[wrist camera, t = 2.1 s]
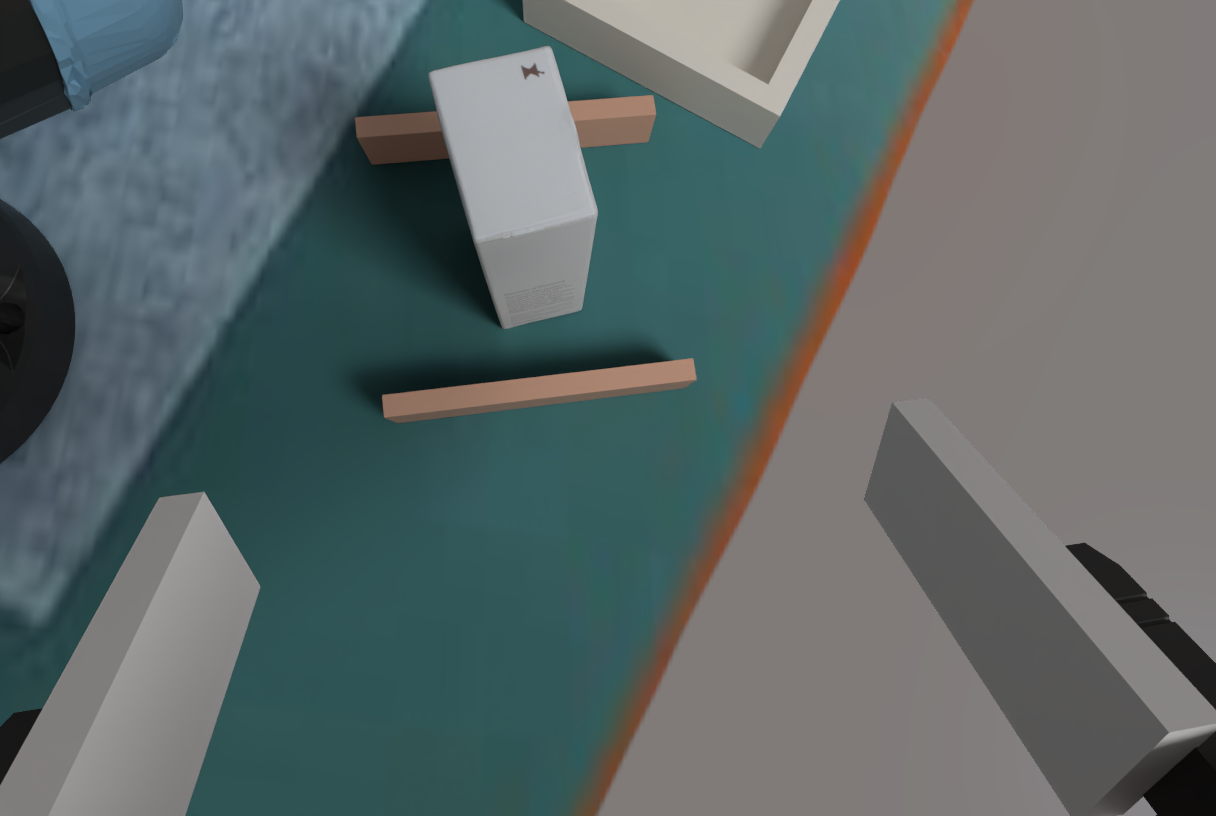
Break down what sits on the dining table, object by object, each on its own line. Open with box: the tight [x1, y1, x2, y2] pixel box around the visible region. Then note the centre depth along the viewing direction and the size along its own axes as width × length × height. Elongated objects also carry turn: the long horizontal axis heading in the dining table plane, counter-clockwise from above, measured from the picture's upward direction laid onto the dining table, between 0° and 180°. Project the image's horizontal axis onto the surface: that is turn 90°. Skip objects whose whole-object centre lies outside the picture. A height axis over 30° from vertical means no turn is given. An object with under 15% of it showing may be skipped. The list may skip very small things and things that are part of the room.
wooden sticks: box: [355, 95, 696, 423], centre depth 31 cm, size 14×14×2 cm
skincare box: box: [428, 46, 598, 329], centre depth 26 cm, size 6×4×12 cm
